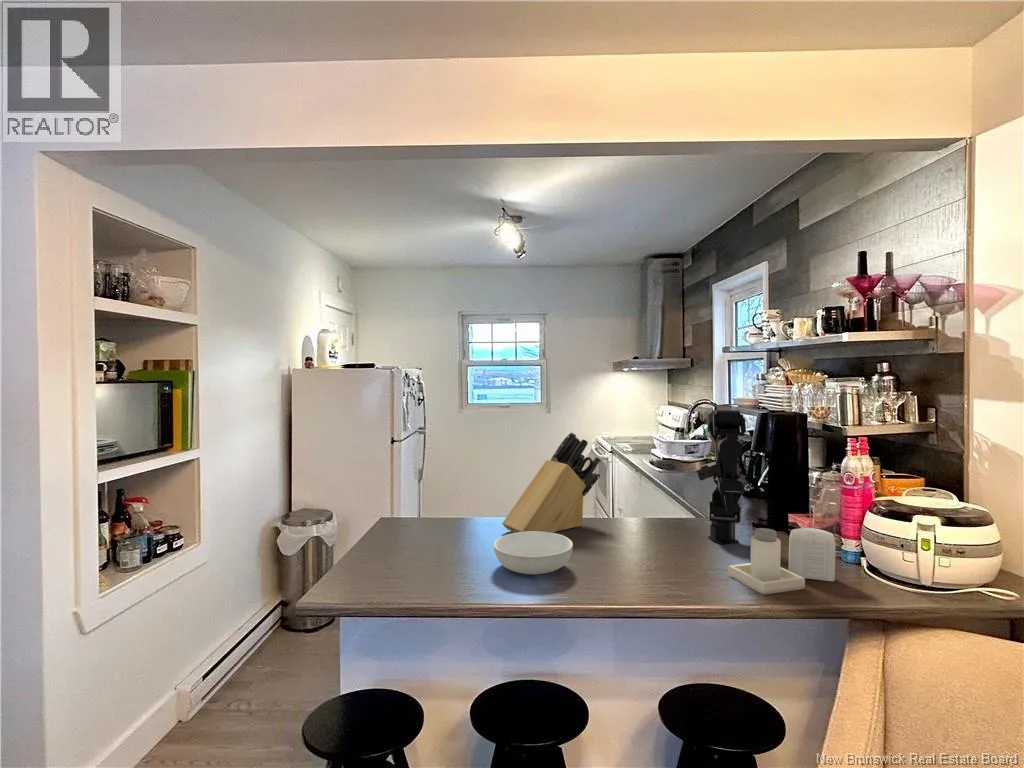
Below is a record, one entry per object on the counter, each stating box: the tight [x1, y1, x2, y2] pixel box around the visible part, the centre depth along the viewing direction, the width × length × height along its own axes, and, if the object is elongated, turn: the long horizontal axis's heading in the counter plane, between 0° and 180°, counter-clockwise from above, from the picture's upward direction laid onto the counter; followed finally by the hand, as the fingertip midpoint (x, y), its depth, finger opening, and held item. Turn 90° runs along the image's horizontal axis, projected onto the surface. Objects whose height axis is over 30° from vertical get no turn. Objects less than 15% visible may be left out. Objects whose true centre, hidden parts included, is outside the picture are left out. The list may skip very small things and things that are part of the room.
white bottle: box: [750, 527, 782, 582], centre depth 129 cm, size 7×7×12 cm
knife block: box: [501, 431, 602, 533], centre depth 175 cm, size 11×35×31 cm, turn 126°
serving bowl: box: [493, 531, 574, 575], centre depth 139 cm, size 21×21×7 cm
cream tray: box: [727, 562, 806, 595], centre depth 129 cm, size 12×12×2 cm
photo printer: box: [788, 527, 836, 583], centre depth 132 cm, size 10×4×12 cm, turn 71°
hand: (727, 510), depth 147 cm, fingers open, 9 cm apart
